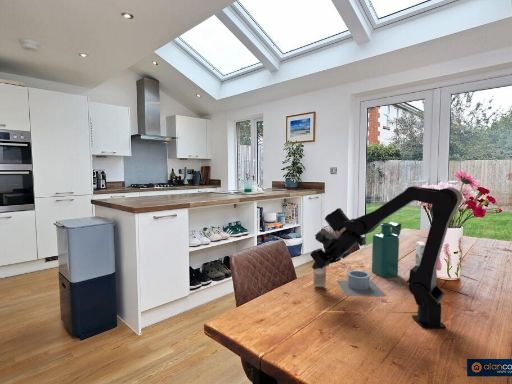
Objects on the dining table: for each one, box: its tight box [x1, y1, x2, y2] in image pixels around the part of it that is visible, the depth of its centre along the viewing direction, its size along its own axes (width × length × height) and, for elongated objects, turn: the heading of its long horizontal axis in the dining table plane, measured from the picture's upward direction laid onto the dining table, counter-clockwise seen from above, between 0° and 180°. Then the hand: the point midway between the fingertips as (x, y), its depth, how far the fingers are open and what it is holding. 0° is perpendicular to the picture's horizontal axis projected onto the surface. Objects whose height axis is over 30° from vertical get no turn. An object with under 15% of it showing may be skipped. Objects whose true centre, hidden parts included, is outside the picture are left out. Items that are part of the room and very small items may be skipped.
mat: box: [336, 280, 387, 297], centre depth 109 cm, size 14×14×1 cm
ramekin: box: [346, 270, 371, 290], centre depth 111 cm, size 8×8×4 cm
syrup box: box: [415, 241, 426, 266], centre depth 120 cm, size 6×6×14 cm
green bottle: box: [371, 221, 402, 278], centre depth 124 cm, size 10×8×22 cm
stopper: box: [313, 260, 327, 288], centre depth 109 cm, size 4×4×10 cm
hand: (316, 266), depth 110 cm, fingers closed on stopper, 4 cm apart
